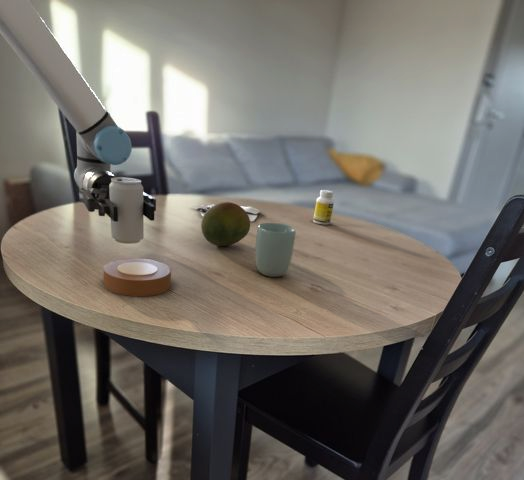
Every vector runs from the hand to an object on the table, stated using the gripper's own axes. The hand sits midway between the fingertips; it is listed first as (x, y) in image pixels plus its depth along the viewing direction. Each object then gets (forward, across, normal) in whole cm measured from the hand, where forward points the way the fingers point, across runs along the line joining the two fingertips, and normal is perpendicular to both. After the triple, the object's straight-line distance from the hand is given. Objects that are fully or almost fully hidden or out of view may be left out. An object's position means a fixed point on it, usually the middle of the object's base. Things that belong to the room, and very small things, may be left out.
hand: (134, 213), depth 92 cm
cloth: (-44, -42, -11) cm, 62 cm away
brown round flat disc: (+8, +2, -11) cm, 14 cm away
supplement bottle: (-30, -69, -12) cm, 76 cm away
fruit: (-13, -26, -11) cm, 31 cm away
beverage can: (-5, 0, -7) cm, 8 cm away
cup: (+9, -27, -11) cm, 30 cm away
